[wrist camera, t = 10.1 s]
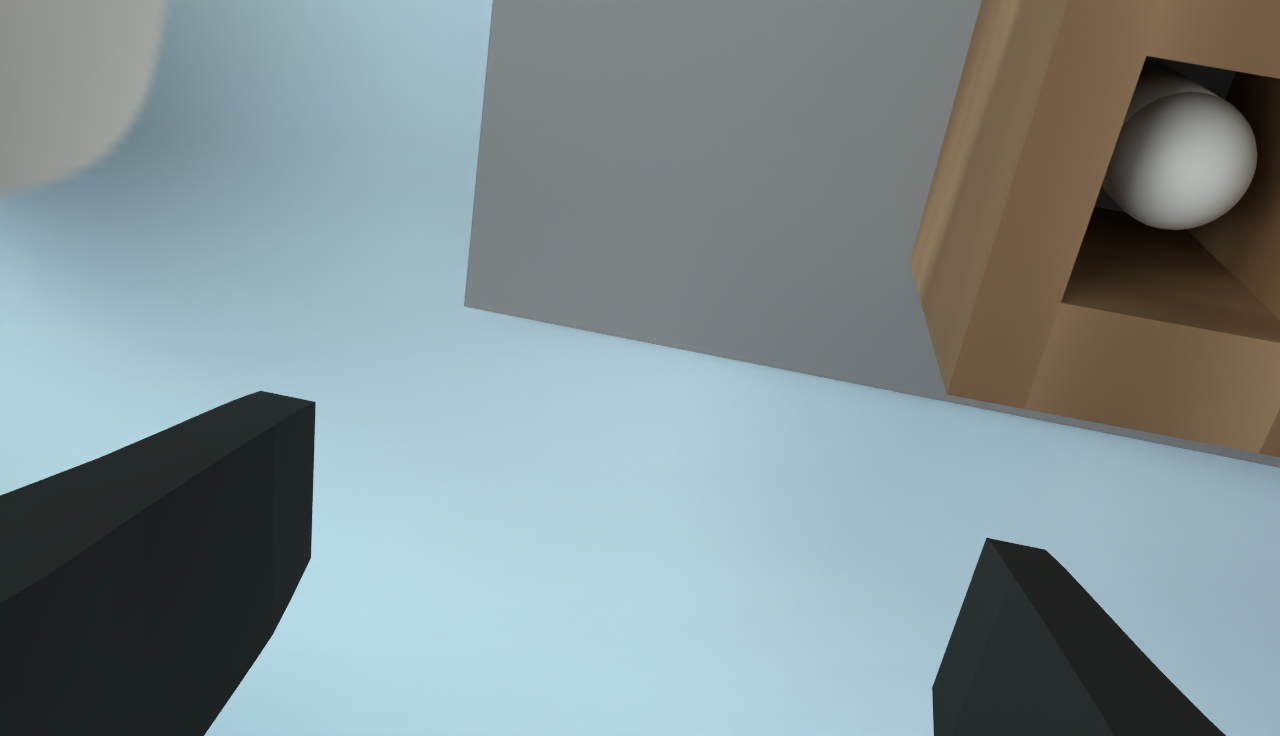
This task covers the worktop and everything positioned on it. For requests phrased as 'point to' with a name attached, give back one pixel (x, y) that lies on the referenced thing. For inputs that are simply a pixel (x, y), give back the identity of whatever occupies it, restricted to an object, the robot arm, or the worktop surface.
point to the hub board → (774, 176)
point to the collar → (1103, 228)
